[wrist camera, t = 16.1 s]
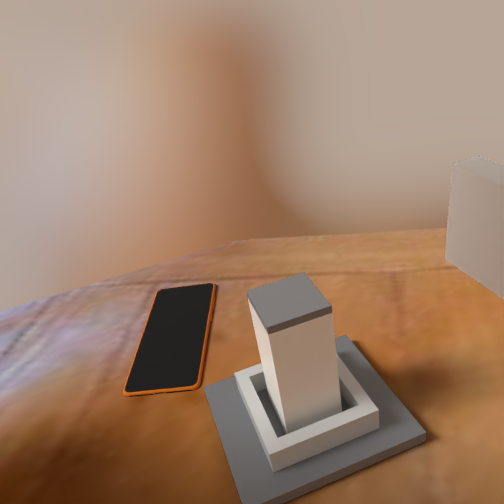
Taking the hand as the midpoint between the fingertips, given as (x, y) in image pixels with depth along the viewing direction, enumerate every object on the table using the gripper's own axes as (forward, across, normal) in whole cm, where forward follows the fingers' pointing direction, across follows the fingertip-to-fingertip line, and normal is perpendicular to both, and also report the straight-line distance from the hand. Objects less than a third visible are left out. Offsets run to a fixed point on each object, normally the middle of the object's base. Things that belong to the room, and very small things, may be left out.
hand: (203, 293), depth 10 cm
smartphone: (+31, -1, -26) cm, 41 cm away
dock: (+15, +7, -25) cm, 30 cm away
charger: (+15, +7, -24) cm, 30 cm away
